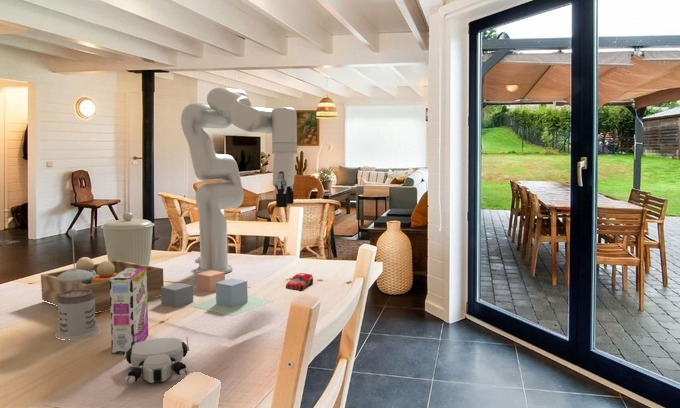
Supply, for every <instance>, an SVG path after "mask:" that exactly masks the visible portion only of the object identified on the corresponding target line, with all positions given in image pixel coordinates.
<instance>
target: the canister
mask: <svg viewBox="0 0 680 408" xmlns="http://www.w3.org/2000/svg"><path fill="white" fill-rule="evenodd" d="M133 215H134V214H133V213H131V212H127V211H126V212H123V214H122V219H117V220H112V221H111V220H110V221H107V222H105V223H104V224H103V225H101V226H100V229H101V230H102V234H103V239H104V244H105V251H106V255H107V256H106V257H107V259H108V261H114V260H120V261H125V262H131V263H136V264H141V265H146V266H150V263H151V257H152V255H151V254H152V253H151V252H152V245H153V244H152V242H153V227H154V226H155V224H156V223H154V222H152V221H151V220H148V219H144V218H143V219H140V218H133V217H134V216H133Z"/></svg>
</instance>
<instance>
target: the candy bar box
mask: <svg viewBox="0 0 680 408" xmlns="http://www.w3.org/2000/svg"><path fill="white" fill-rule="evenodd" d="M109 280H110V307H111V310H110V328H111V329H110V331H111V332H110V334H111V338H110V339H111V354H125V344H127V350H126V353H127V352H128V350H129V349H130V348H132V346H133V345H134V344H136V343H138V342H141V341H145V340H146V338H147V337H148V336H149V313H148V312H149V311H148V299H147V268H126V269H124V270H123V271H121V272H120V273H118V274H117V275H115V276H113V277H112V278H110V279H109Z"/></svg>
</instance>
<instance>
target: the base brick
mask: <svg viewBox="0 0 680 408" xmlns="http://www.w3.org/2000/svg"><path fill="white" fill-rule="evenodd" d="M248 296H249V295H248V281H247V280H245V279H238V278H227V279H225V280H223V281H220V282H216V290H215V298H216V304H218V305H222V306H227V307H231V308H232V307H235V306H238V305H241V304H244V303H247V302H248Z"/></svg>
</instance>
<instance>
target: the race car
mask: <svg viewBox="0 0 680 408" xmlns="http://www.w3.org/2000/svg"><path fill="white" fill-rule="evenodd" d="M313 283H314V276H313V275H312V274H310V273H303V272H302V273H301V272H298V273H297V274H295V275H294V276H292V278H291V277H290V278H289V281H287V283H286V284H285V289H286V290H290V291H291V290H292V291H296V292H297V291H299V292H302V291H303V290H304V289H306V288H307V287H308V286H311V285H312V284H313Z"/></svg>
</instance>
